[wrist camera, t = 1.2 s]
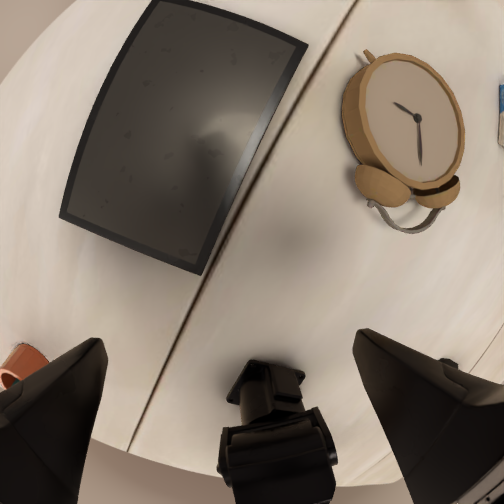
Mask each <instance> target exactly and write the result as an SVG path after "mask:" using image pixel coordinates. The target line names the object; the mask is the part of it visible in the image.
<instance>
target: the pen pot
mask: <svg viewBox="0 0 504 504" xmlns="http://www.w3.org/2000/svg"><path fill="white" fill-rule="evenodd" d="M48 363H49V362H48V361H47V359H46V358H45V357H44V356H43V355H42V354H41V353H40V352H39V351H38V350H36V349H35V348H33V347H31V346H29V345H26V344H20V345H18V346H17V347H16V348H15V349H14V350H13V352H12V353H11V354H10V355H9V357H8V358H7V359H6V361H5V362H4V363H3V364H2V366H1V367H0V383H1V385H2V387H3V388H4V389H5V390H6V389H8V388H10V387H11V385H12V384H13V382H14V381H15V379H16V378H17V379H19V380H20V381H21V380H24V378H26V377H27V376H29V375H31V374H32V373H34V372H36V371H37V370H39V369H40V368H42V367H44V366H45V365H47V364H48Z"/></svg>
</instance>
